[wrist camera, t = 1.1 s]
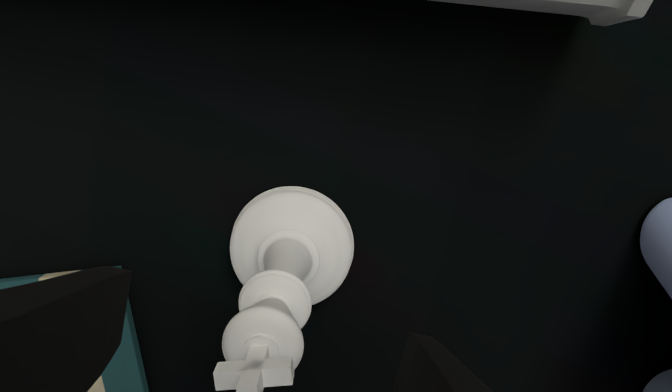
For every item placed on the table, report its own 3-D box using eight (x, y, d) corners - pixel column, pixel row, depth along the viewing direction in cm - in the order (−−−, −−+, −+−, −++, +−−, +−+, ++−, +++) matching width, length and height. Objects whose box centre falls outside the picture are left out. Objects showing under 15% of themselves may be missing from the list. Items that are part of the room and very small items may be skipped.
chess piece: (223, 191, 20) (107, 293, 10) (348, 180, 19) (358, 273, 10) (239, 307, 21) (148, 505, 11) (358, 298, 20) (376, 490, 11)
